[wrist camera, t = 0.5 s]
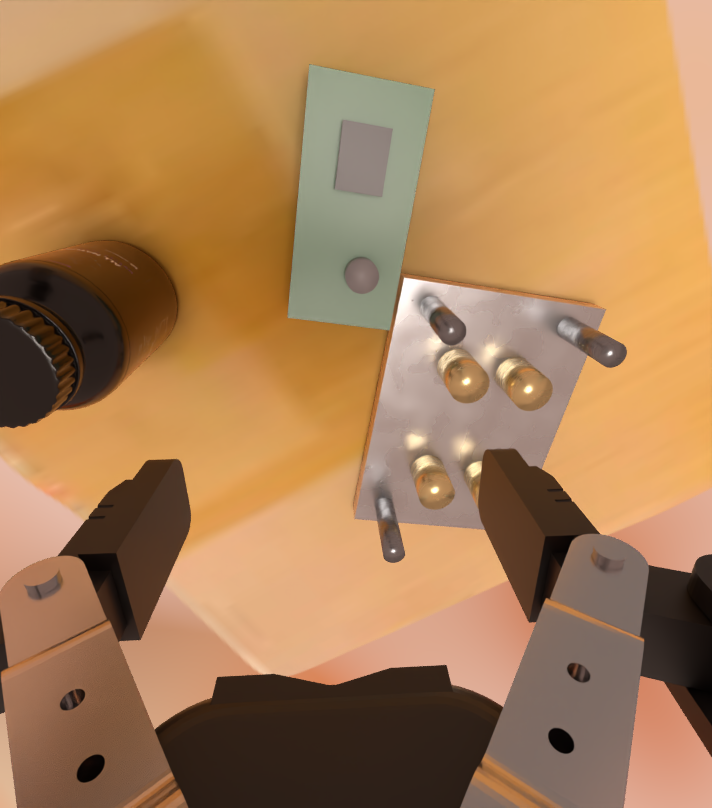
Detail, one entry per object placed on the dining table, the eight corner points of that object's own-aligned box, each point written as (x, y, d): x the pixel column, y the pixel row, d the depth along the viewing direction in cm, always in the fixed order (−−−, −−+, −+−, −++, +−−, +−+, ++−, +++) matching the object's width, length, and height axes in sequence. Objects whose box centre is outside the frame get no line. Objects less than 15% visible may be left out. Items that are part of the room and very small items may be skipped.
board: (310, 77, 24) (309, 59, 20) (421, 99, 25) (439, 85, 21) (290, 304, 29) (286, 322, 25) (383, 316, 30) (392, 335, 26)
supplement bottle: (140, 219, 26) (12, 247, 15) (200, 328, 29) (129, 417, 18) (34, 264, 26) (-163, 322, 16) (103, 366, 29) (-22, 474, 19)
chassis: (400, 273, 28) (421, 297, 22) (593, 303, 30) (659, 333, 24) (353, 506, 36) (359, 569, 30) (509, 519, 37) (544, 581, 32)
